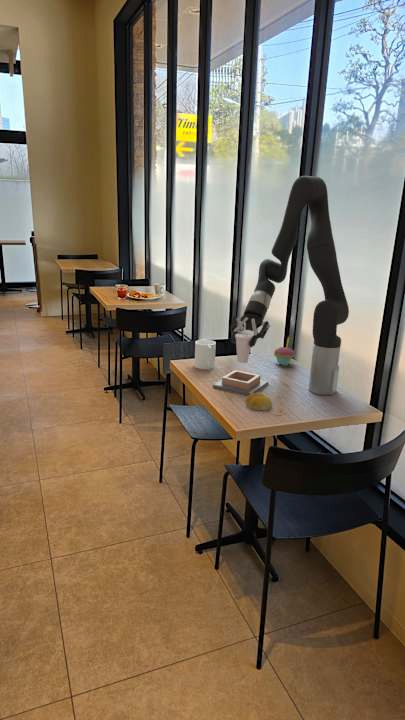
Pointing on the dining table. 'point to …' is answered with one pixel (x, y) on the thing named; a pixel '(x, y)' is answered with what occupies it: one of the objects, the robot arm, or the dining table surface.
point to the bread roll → (258, 401)
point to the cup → (205, 354)
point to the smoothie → (243, 346)
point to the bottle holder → (241, 383)
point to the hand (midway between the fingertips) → (241, 344)
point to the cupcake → (284, 354)
